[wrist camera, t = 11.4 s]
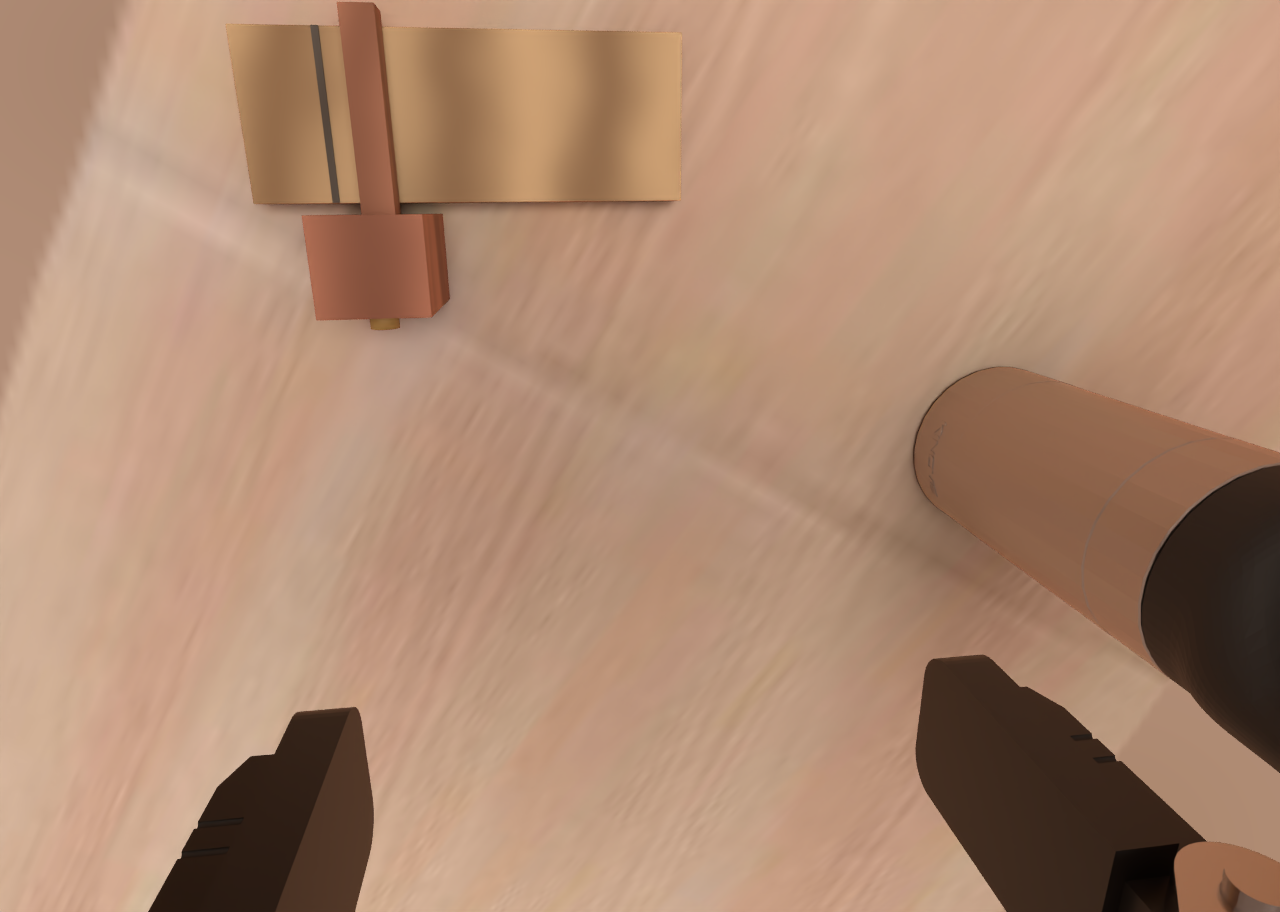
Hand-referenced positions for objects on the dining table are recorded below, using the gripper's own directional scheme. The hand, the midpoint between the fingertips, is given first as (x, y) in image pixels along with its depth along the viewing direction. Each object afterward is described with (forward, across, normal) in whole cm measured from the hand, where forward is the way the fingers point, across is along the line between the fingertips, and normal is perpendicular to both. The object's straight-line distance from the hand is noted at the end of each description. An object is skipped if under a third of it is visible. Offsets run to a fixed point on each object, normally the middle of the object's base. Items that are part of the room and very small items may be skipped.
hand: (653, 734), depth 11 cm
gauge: (+30, +8, -9) cm, 32 cm away
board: (+30, +4, -11) cm, 32 cm away
